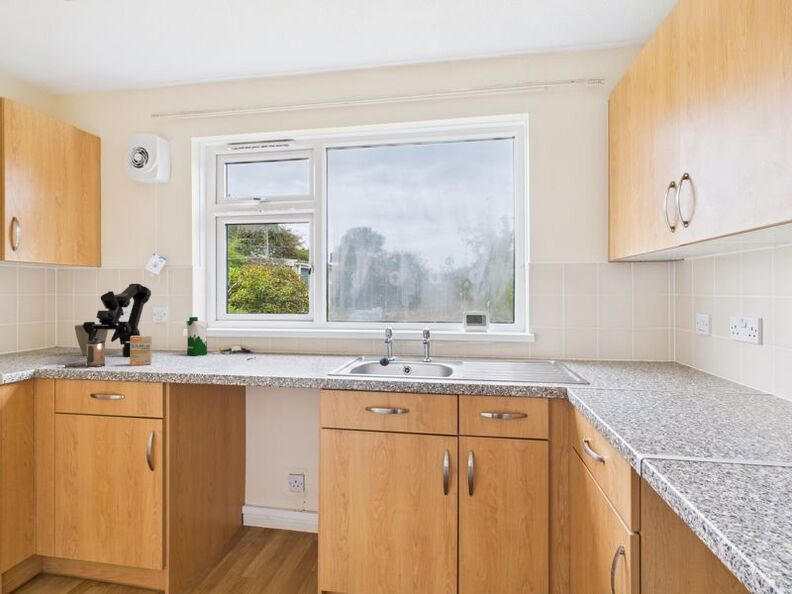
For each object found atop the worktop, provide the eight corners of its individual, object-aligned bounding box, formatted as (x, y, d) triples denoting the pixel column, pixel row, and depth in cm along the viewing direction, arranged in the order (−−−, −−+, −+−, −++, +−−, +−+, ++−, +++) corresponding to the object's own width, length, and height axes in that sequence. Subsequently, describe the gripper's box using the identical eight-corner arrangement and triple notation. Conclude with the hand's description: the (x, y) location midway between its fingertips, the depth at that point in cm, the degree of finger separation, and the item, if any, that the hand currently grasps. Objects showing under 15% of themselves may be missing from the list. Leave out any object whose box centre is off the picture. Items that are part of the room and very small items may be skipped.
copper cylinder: (91, 365, 195) (91, 335, 195) (108, 365, 196) (108, 335, 196) (80, 368, 186) (80, 337, 186) (98, 368, 187) (98, 337, 187)
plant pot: (67, 356, 226) (67, 325, 226) (97, 352, 240) (97, 323, 240) (86, 357, 221) (86, 326, 221) (115, 353, 234) (115, 324, 234)
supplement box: (129, 366, 192) (129, 336, 192) (131, 364, 196) (131, 335, 196) (151, 364, 196) (151, 335, 196) (152, 363, 200) (151, 334, 200)
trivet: (84, 363, 199) (84, 362, 199) (87, 366, 192) (87, 365, 192) (57, 366, 193) (57, 364, 193) (58, 368, 185) (58, 367, 185)
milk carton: (184, 355, 227) (184, 317, 227) (200, 353, 235) (200, 316, 235) (194, 356, 222) (194, 317, 222) (210, 354, 230) (210, 316, 230)
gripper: (84, 304, 200) (70, 330, 189) (128, 304, 202) (116, 329, 191) (94, 320, 207) (80, 346, 196) (136, 320, 210) (125, 345, 199)
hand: (100, 341), depth 196 cm, fingers open, 9 cm apart
